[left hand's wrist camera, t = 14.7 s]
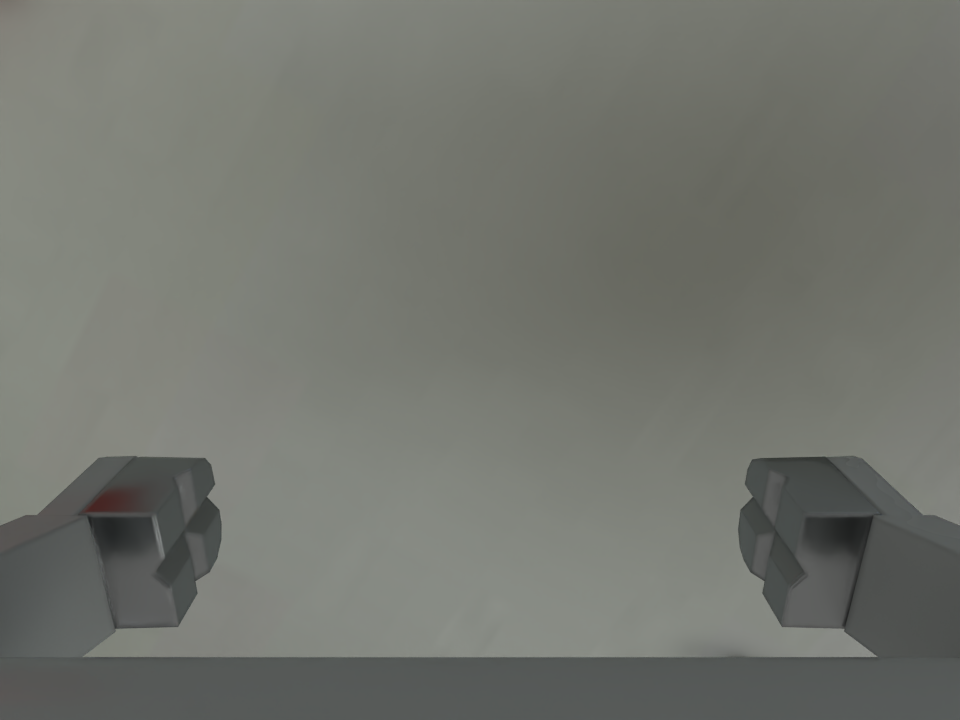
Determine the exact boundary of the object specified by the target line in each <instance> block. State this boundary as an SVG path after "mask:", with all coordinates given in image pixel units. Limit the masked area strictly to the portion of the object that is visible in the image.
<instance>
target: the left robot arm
mask: <svg viewBox="0 0 960 720" xmlns="http://www.w3.org/2000/svg"><path fill="white" fill-rule="evenodd" d="M214 485H215V481H214V476H213V472H212V467H211V464H210V463H209V462H208V461H207V460H206V459H205V458H182V457H137V456H117V457H102V458H98V459H97V460H96V461H95V462H94V463H93V464H92V465H91V466H90V467H88V468H87V469H86V470H85V471H84V472H83V473H82V474H81V475H80V476H79V477H78V478H77V479H75V480H74V481H73V482H72V483H71V484H70V485H69V486H68V487H67V488H66V489H65V490H64V491H63V492H61V493H60V494H59V495H58V496H57V497H56V498H55V499H54V500H53V501H52V502H51V503H50V504H48V505H47V506H46V507H45V508H44V509H43V510H42V511H41V512H40V513H39V514H38V515H25V516H23V517H20V518H18V519H15V520H13V521H11V522H8V523H6V524H3V525H1V526H0V720H960V526H959V525H957V524H954V523H952V522H949V521H947V520H944V519H942V518H940V517H937V516H935V515H922V514H921V513H920V512H919V511H918V510H917V509H916V508H915V507H914V506H913V505H912V504H910V503H909V502H908V501H907V500H906V499H905V498H904V497H903V496H902V495H901V494H900V493H899V492H898V491H896V490H895V489H894V488H893V487H892V486H891V485H890V484H889V483H888V482H887V481H886V480H885V479H884V478H882V477H881V476H880V475H879V474H878V473H877V472H876V471H875V470H874V469H873V468H872V467H871V466H870V465H869V464H867V463H866V462H865V461H864V460H863V459H862V458H858V457H855V456H838V457H792V458H759V459H752V461H751V463H750V465H749V467H748V470H747V475H746V481H745V485H746V487H747V488H748V490H749V491H750V493H751V494H752V496H753V498H752V499H751V500H750V501H749V502H748V503H747V504H746V505H745V506H744V507H743V508H742V509H741V511H740V519H739V526H738V533H739V544H740V549H741V553H742V556H743V559H744V561H745V563H746V565H747V567H748V569H749V571H750V572H751V573H753V574H754V575H756V576H757V577H759V578H760V579H762V580H764V581H765V582H764V587H763V595H764V597H765V599H766V600H767V602H768V604H769V605H770V607H771V609H772V611H773V612H774V614H775V616H776V617H777V619H778V621H779V623H780V624H781V626H782V627H804V628H841V629H845V630H844V632H846V633H847V634H848V635H850V636H851V637H852V638H854V639H855V640H856V641H858V642H859V643H860V644H862V645H863V646H864V647H866V648H867V649H868V650H870V651H871V652H872V653H874V654H875V655H876V656H878V657H83V656H84V655H85V654H87V653H88V652H89V651H91V650H92V649H93V648H94V647H96V646H97V645H98V644H100V643H101V642H102V641H104V640H105V639H106V638H108V637H109V636H110V635H112V634H113V633H114V632H115V631H116V630H115V629H119V628H154V627H178V626H179V624H180V623H181V621H182V619H183V617H184V616H185V614H186V612H187V611H188V609H189V607H190V605H191V604H192V602H193V600H194V599H195V597H196V595H197V588H196V582H195V581H196V580H198V579H200V578H201V577H203V576H204V575H206V574H207V573H209V572H210V570H211V569H212V567H213V565H214V563H215V561H216V559H217V556H218V552H219V548H220V543H221V517H220V511H219V509H218V508H217V507H216V506H215V505H214V504H213V503H212V502H211V501H210V500H209V499H208V498H207V496H208V494H209V493H210V491H211V490H212V488H213V487H214Z"/></svg>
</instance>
